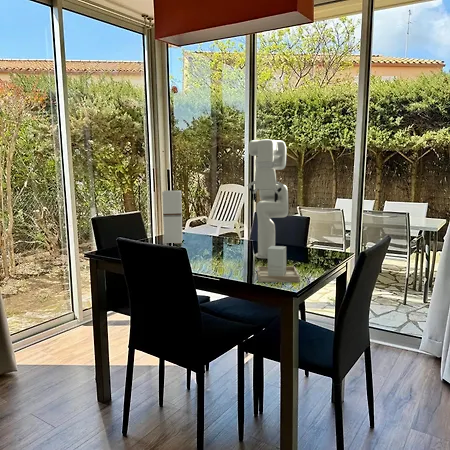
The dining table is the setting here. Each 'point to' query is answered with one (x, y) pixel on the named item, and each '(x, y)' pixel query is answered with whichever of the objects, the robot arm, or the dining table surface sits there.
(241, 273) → the dining table surface
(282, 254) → the supplement box
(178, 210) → the white tall box
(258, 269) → the tray
